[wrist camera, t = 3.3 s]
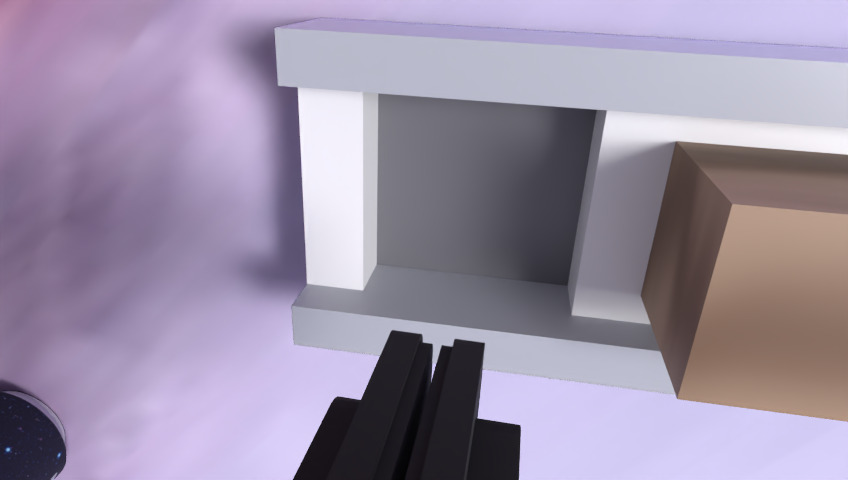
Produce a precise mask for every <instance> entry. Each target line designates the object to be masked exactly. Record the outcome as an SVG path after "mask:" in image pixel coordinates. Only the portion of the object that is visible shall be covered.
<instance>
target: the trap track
mask: <svg viewBox="0 0 848 480" xmlns="http://www.w3.org/2000/svg"><path fill="white" fill-rule="evenodd" d="M274 29H275V45H276V62H277V78H278V86H286V87H298V103H299V125H300V146H301V167H302V188H303V209H304V231H305V252H306V273H307V285H306V286H305V287H304V289H303V290H302V292H301V293H300V295H299V296H298V297H297V299H296V300H295V302H294V303H293V304H292V306H291V307H292V324H293V340H294V345H301V346H309V347H316V348H324V349H331V350H339V351H347V352H354V353H362V354H369V355H377V356H380V355H381V353H382V350H383V348H384V346H385V344H386V341H387V339H388V337H389V334H390V332H391V331H392V330H396V331H403V332H411V333H418V334H422V335H423V342H424V343H431V344H433V358H432V363H437V360H438V356H439V353H440V349H441V346H442V345H445V346H452V347H453V343H454V339H461V340H468V341H476V342H483V343H485V350H484V360H483V370H491V371H498V372H506V373H514V374H521V375H529V376H536V377H544V378H552V379H559V380H567V381H574V382H582V383H590V384H597V385H605V386H612V387H620V388H628V389H635V390H643V391H650V392H658V393H665V394H673V395H676V394H675V391H674V388H673V385H672V383H671V380H670V377H669V374H668V371H667V369H666V366H665V363H664V360H663V357H662V355H661V352H660V349H659V346H658V343H657V340H656V338H655V335H654V332H653V329H652V326H651V324H650V321H649V318H648V315H647V312H646V310H645V307H644V304H643V301H642V298H641V292H642V287H643V283H644V278H645V274H646V270H647V265H648V261H649V256H650V252H651V248H652V243H653V239H654V235H655V230H656V226H657V221H658V217H659V213H660V208H661V204H662V199H663V195H664V191H665V186H666V182H667V178H668V173H669V169H670V164H671V160H672V156H673V151H674V147H675V143H676V141H683V142H695V143H708V144H720V145H733V146H745V147H758V148H771V149H783V150H796V151H808V152H821V153H833V154H846V155H848V48H832V47H815V46H798V45H781V44H764V43H747V42H730V41H713V40H696V39H679V38H662V37H645V36H627V35H610V34H593V33H576V32H559V31H542V30H525V29H508V28H491V27H474V26H457V25H440V24H423V23H406V22H389V21H372V20H355V19H338V18H318V19H313V20H309V21H304V22H299V23H295V24H290V25H285V26H281V27H276V28H274Z"/></svg>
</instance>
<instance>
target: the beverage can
mask: <svg viewBox="0 0 848 480" xmlns="http://www.w3.org/2000/svg"><path fill="white" fill-rule="evenodd" d="M65 463H66V447H65V432H64V429H63V426H62V424H61V422H60V420H59V419H58V417H57V416H56V415H55V414H54V413H53V411H52V410H51V409H50V408H48V407H47V406H46V405H45V404H44V403H42V402H41V401H39V400H37V399H36V398H34V397H32V396H30V395H27V394H24V393H21V392H16V391H4V392H1V391H0V480H54V479H55V478H56V477H57V476H58V475H59V473H60V472H61V471H62V470H63V468H64V466H65Z"/></svg>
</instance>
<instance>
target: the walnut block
mask: <svg viewBox="0 0 848 480" xmlns="http://www.w3.org/2000/svg"><path fill="white" fill-rule="evenodd" d="M641 298H642V301H643V304H644V307H645V310H646V312H647V315H648V318H649V321H650V324H651V326H652V329H653V332H654V335H655V338H656V340H657V343H658V346H659V349H660V352H661V355H662V357H663V360H664V363H665V366H666V369H667V371H668V374H669V377H670V380H671V383H672V385H673V388H674V391H675V394H676V397H677V399H681V400H689V401H696V402H704V403H711V404H719V405H726V406H734V407H741V408H749V409H757V410H764V411H772V412H779V413H787V414H794V415H802V416H809V417H817V418H825V419H832V420H840V421H847V422H848V155H846V154H833V153H821V152H808V151H796V150H783V149H771V148H758V147H745V146H733V145H720V144H708V143H695V142H683V141H676V143H675V147H674V151H673V156H672V160H671V164H670V169H669V173H668V178H667V182H666V186H665V191H664V195H663V199H662V204H661V208H660V213H659V217H658V221H657V226H656V230H655V235H654V239H653V243H652V248H651V252H650V256H649V261H648V265H647V270H646V274H645V278H644V283H643V287H642V292H641Z"/></svg>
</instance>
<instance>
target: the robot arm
mask: <svg viewBox="0 0 848 480" xmlns="http://www.w3.org/2000/svg"><path fill="white" fill-rule="evenodd" d="M484 350H485V343H483V342H476V341H468V340H461V339H454V343H453V347H452V346H445V345H442V346H441V349H440V353H439V356H438V360H437V364H436V367H435V371H434V374H433V378H432V382H431V374H432V358H433V344H431V343H424V342H423V335H422V334H418V333H411V332H403V331H396V330H392V331H391V332H390V334H389V337H388V339H387V341H386V344H385V346H384V348H383V350H382V353H381V355H380V357H379V360H378V362H377V364H376V367H375V369H374V371H373V374H372V376H371V378H370V380H369V383H368V385H367V387H366V390H365V392H364V394H363V397H362V399H361V400H357V399H350V398H344V397H336V398H335V399H334V400H333V402H332V403H331V405H330V407H329V409H328V411H327V413H326V415H325V417H324V419H323V421H322V423H321V425H320V427H319V429H318V431H317V433H316V435H315V437H314V439H313V441H312V443H311V445H310V447H309V449H308V451H307V453H306V455H305V457H304V459H303V461H302V463H301V465H300V467H299V469H298V471H297V473H296V475H295V477H294V479H293V480H519V460H520V436H521V427H520V425H515V424H509V423H503V422H496V421H490V420H484V419H477V417H478V408H479V398H480V389H481V379H482V369H483V360H484Z"/></svg>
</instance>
